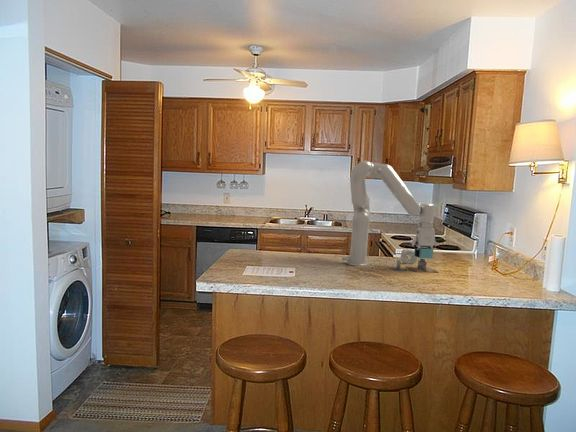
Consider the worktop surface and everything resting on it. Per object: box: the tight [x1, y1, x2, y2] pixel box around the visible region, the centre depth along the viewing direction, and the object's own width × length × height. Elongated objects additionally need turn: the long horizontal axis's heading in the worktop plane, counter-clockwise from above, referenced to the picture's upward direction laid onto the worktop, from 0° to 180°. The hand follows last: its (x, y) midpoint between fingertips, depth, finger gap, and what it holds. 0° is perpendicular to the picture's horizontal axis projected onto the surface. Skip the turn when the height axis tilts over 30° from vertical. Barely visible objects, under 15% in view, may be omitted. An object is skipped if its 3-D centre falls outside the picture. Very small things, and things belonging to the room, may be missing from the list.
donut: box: [400, 248, 419, 265], centre depth 263 cm, size 10×3×10 cm, turn 89°
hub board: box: [405, 258, 439, 274], centre depth 247 cm, size 14×12×7 cm
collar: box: [414, 246, 434, 259], centre depth 246 cm, size 7×7×5 cm
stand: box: [388, 259, 408, 272], centre depth 244 cm, size 10×10×6 cm
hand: (423, 256), depth 246 cm, fingers closed on collar, 7 cm apart
